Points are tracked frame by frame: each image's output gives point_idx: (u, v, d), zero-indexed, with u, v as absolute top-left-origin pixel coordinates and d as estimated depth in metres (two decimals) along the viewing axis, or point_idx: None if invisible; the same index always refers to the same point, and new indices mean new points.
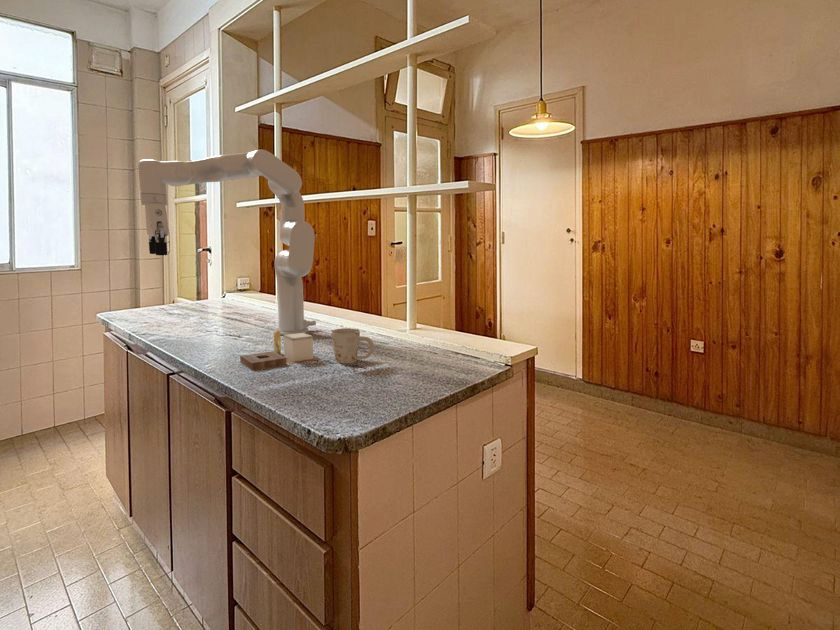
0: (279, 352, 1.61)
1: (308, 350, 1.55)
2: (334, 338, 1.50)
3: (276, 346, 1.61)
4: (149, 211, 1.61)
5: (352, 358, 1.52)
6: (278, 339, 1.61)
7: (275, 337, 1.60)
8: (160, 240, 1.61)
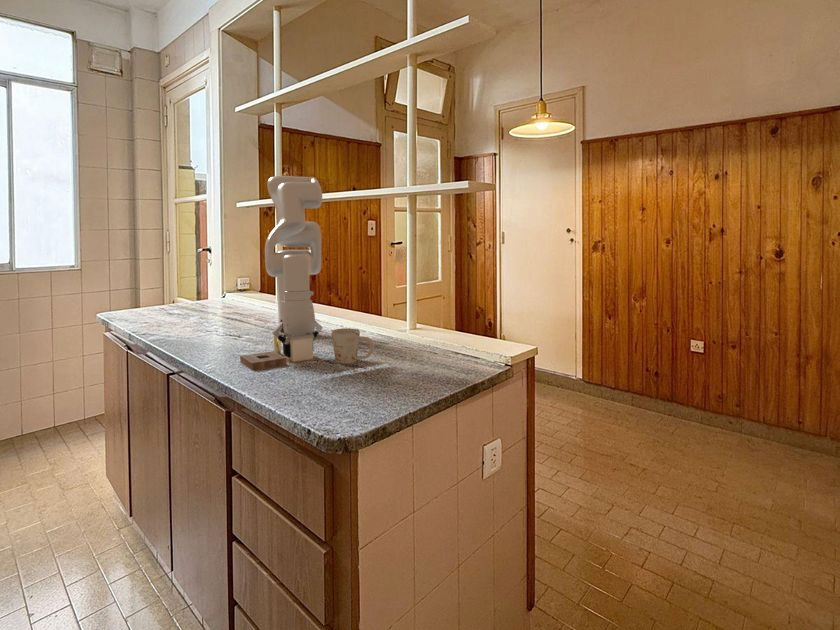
0: (279, 352, 1.61)
1: (308, 350, 1.55)
2: (334, 338, 1.50)
3: (276, 346, 1.61)
4: (310, 307, 1.54)
5: (352, 358, 1.52)
6: (278, 339, 1.60)
7: (275, 337, 1.60)
8: None
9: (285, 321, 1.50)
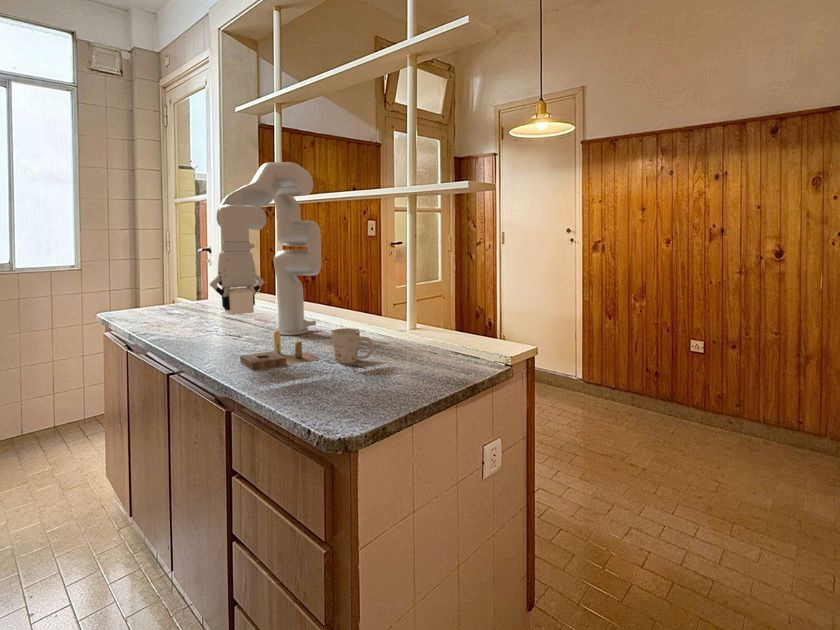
0: (279, 352, 1.61)
1: (248, 303, 1.52)
2: (334, 338, 1.50)
3: (276, 346, 1.61)
4: (249, 260, 1.51)
5: (352, 358, 1.52)
6: (278, 339, 1.61)
7: (275, 337, 1.60)
8: None
9: (223, 272, 1.48)
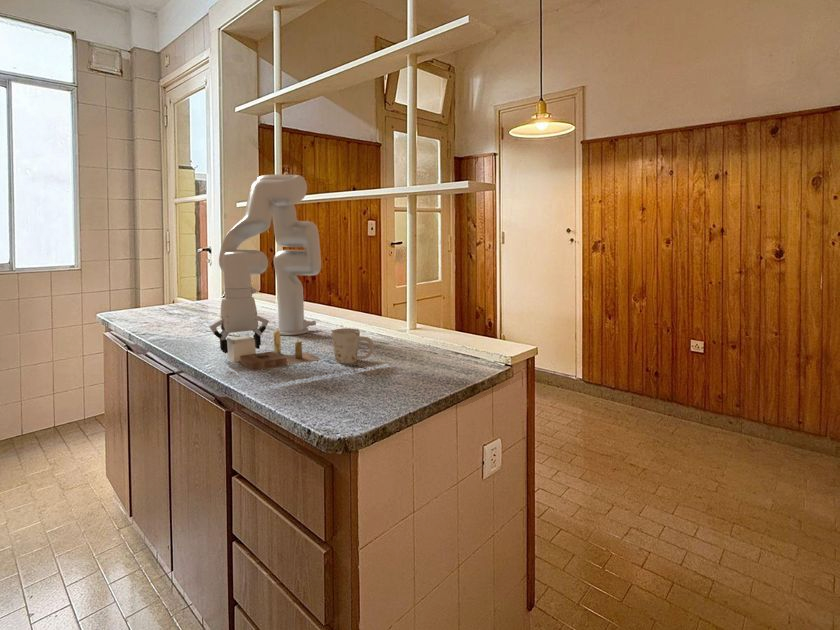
0: (279, 352, 1.61)
1: (250, 353, 1.55)
2: (334, 338, 1.50)
3: (276, 346, 1.61)
4: (251, 305, 1.54)
5: (352, 358, 1.52)
6: (278, 339, 1.61)
7: (275, 337, 1.60)
8: None
9: (225, 319, 1.50)
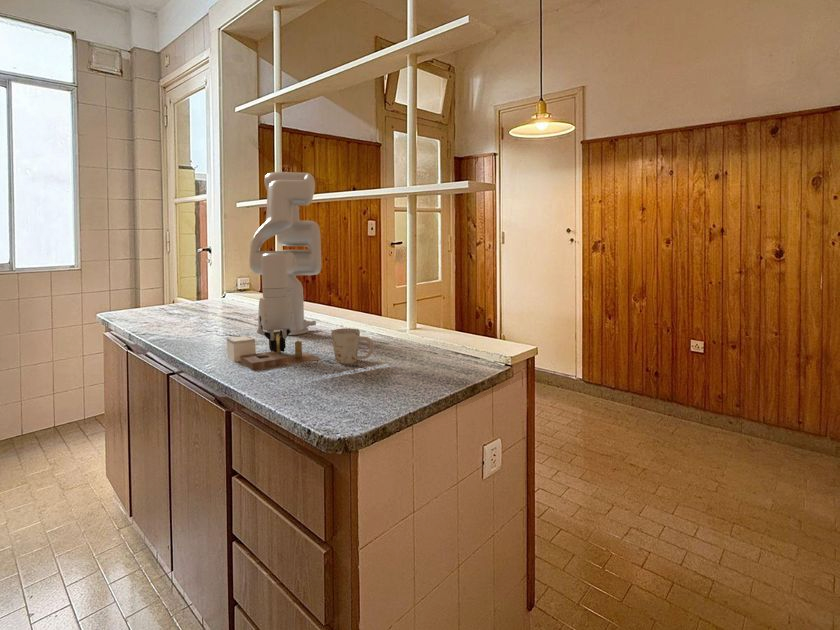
0: (279, 352, 1.61)
1: (250, 353, 1.55)
2: (334, 338, 1.50)
3: (276, 346, 1.61)
4: (288, 304, 1.59)
5: (352, 358, 1.52)
6: (278, 339, 1.60)
7: (275, 337, 1.60)
8: None
9: (263, 317, 1.56)
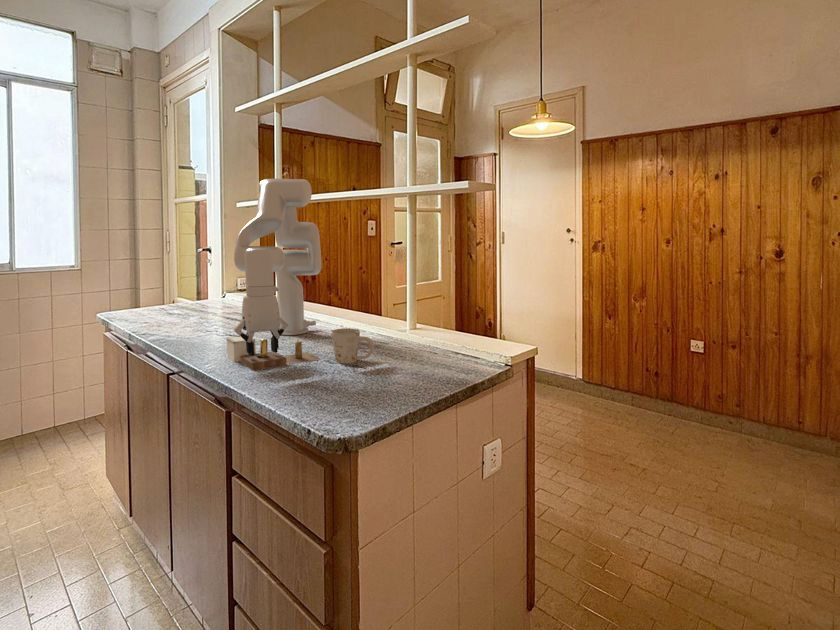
0: None
1: None
2: (334, 338, 1.50)
3: (262, 355, 1.49)
4: (274, 303, 1.47)
5: (352, 358, 1.52)
6: (265, 348, 1.49)
7: (262, 345, 1.49)
8: None
9: (247, 318, 1.44)
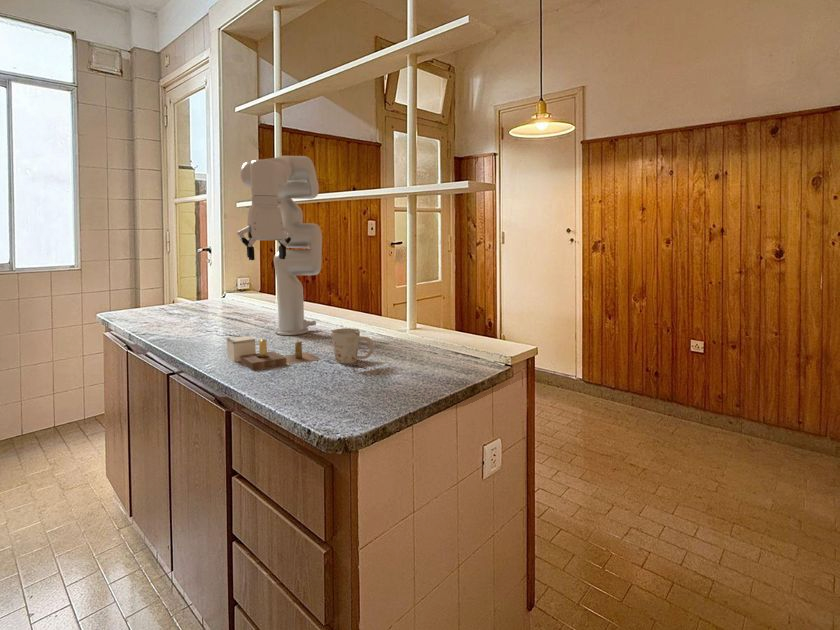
0: None
1: (250, 353, 1.55)
2: (334, 338, 1.50)
3: (262, 355, 1.49)
4: (278, 214, 1.57)
5: (352, 358, 1.52)
6: (264, 348, 1.49)
7: (261, 346, 1.48)
8: None
9: (253, 225, 1.53)
